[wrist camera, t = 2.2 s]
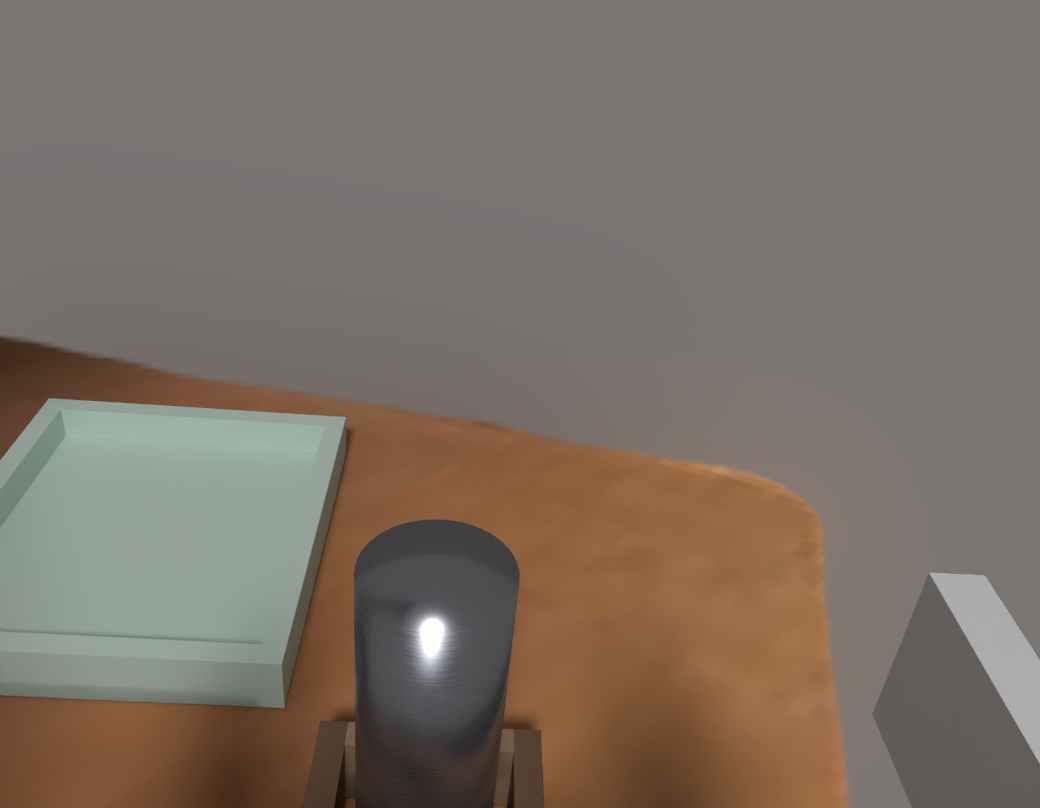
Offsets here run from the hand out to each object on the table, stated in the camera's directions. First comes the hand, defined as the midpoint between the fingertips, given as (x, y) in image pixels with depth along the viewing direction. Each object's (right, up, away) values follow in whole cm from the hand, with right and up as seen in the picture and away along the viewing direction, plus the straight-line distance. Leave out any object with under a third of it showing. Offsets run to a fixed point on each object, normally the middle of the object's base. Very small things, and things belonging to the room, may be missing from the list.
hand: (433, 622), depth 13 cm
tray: (-16, -4, +33) cm, 37 cm away
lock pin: (-2, -13, +20) cm, 24 cm away
